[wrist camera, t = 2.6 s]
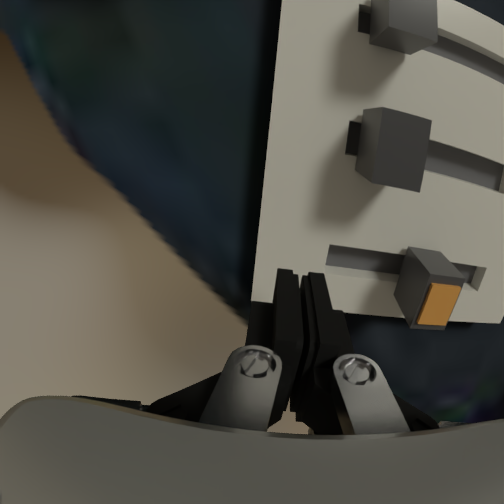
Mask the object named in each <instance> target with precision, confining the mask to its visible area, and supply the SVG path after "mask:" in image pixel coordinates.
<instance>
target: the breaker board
mask: <svg viewBox="0 0 504 504" xmlns="http://www.w3.org/2000/svg"><path fill="white" fill-rule="evenodd" d="M437 16H438V42H437V43H435V44H433V45H431V46H428V47H426V48H424V49H422V50H420V51H418V52H416V53H414V54H411V55H408V54H405V53H401V52H398V51H394V50H391V49H387V48H383V47H379V46H375V45H371V44H369V38H370V17H371V0H282V7H281V17H280V27H279V37H278V47H277V57H276V67H275V77H274V87H273V97H272V107H271V117H270V126H269V136H268V146H267V155H266V165H265V175H264V184H263V194H262V203H261V213H260V222H259V231H258V241H257V250H256V259H255V269H254V278H253V287H252V297H251V301H259V302H268V303H272V301H273V295H274V288H275V281H276V274H277V269H278V268H282V269H290V270H293V274H298V277H299V288H300V284H301V278H302V275H308V272H316V273H324V275H325V279H326V283H327V287H328V291H329V295H330V300H331V304H332V308H333V309H334V310H342V311H343V312H346V313H356V314H366V315H377V316H388V317H400V318H405V317H404V315H403V313H402V311H401V309H400V307H399V305H398V303H397V301H396V299H395V297H394V295H393V294H394V291H395V288H396V285H397V282H398V279H399V275H400V272H399V271H400V268H401V265H402V261H403V258H404V256H405V255H406V252H407V248H408V246H410V247H416V248H422V249H428V250H434V251H440V252H441V253H442V254H443V255H444V256H445V257H446V258H447V259H448V260H449V261H450V262H451V263H452V264H453V265H454V266H455V267H456V269H457V270H458V271H459V272H460V273H461V274H462V275H463V276H464V277H465V278H466V279H465V282H464V284H463V287H462V290H461V292H460V295H459V297H458V300H457V302H456V304H455V307H454V309H453V311H452V314H451V316H450V318H449V320H448V321H460V322H480V323H500V322H501V320H502V318H503V316H504V26H503V25H501V24H500V23H498V22H496V21H494V20H493V19H491V18H489V17H487V16H485V15H483V14H481V13H479V12H477V11H475V10H473V9H471V8H469V7H467V6H465V5H463V4H461V3H459V2H457V1H454V0H437ZM378 107H385V108H389V109H393V110H397V111H401V112H405V113H409V114H412V115H416V116H419V117H423V118H426V119H429V120H432V124H431V132H430V139H429V145H428V152H427V158H426V163H425V169H424V174H423V180H422V185H421V189H420V193H418V192H414V191H409V190H404V189H400V188H395V187H390V186H385V185H380V184H374V183H371V182H370V181H368V180H367V179H366V178H364V177H363V176H362V175H361V174H359V173H358V172H357V171H355V166H356V159H357V152H358V146H359V138H360V131H361V123H362V115H363V109H370V108H378Z"/></svg>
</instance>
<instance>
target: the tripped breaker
mask: <svg viewBox="0 0 504 504" xmlns="http://www.w3.org/2000/svg"><path fill="white" fill-rule="evenodd" d="M399 272H400V275H399V279H398V282H397V285H396V288H395V291H394V294H393V295H394V297H395V299H396V301H397V303H398V305H399V307H400V309H401V311H402V313H403V315H404V317H405V319H406V321H407V323H408V326H409V328H414V329H432V330H444V329H445V327H446V325H447V323H448V320H449V318H450V316H451V314H452V311H453V309H454V307H455V304H456V302H457V300H458V297H459V295H460V292H461V290H462V287H463V284H464V282H465V279H466V278H465V277H464V276H463V275H462V274H461V273H460V272H459V271H458V270H457V269H456V267H455V266H454V265H453V264H452V263H451V262H450V261H449V260H448V259H447V258H446V257H445V256H444V255H443V254H442V253H441V252H440V251H434V250H428V249H422V248H416V247H410V246H408V248H407V252H406V255H405V256H404V258H403V261H402V265H401V268H400V271H399Z"/></svg>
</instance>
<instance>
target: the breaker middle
mask: <svg viewBox="0 0 504 504" xmlns="http://www.w3.org/2000/svg"><path fill="white" fill-rule="evenodd" d="M431 124H432V120H429V119H426V118H423V117H419V116H416V115H412V114H409V113H405V112H401V111H397V110H393V109H389V108H385V107H378V108H370V109H363V115H362V123H361V131H360V138H359V146H358V152H357V159H356V166H355V171H357V172H358V173H359V174H361V175H362V176H363V177H364V178H366V179H367V180H368V181H370V182H371V183H374V184H380V185H385V186H390V187H395V188H400V189H404V190H409V191H414V192H418V193H420V189H421V185H422V180H423V174H424V169H425V163H426V158H427V152H428V145H429V139H430V132H431Z"/></svg>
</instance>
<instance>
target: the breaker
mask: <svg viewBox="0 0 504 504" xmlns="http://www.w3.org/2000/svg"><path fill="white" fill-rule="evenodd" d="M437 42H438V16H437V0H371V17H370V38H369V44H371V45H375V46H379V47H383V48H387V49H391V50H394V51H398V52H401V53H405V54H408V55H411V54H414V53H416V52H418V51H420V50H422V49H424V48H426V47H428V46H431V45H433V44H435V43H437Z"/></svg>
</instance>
